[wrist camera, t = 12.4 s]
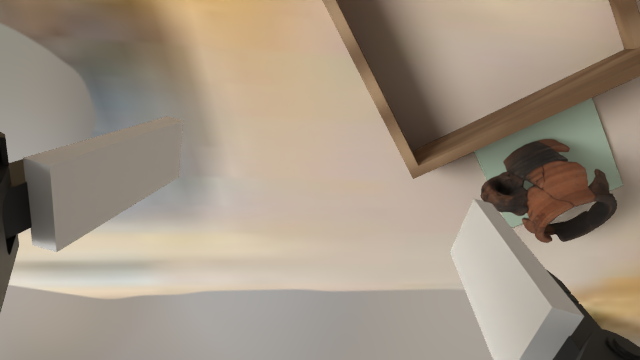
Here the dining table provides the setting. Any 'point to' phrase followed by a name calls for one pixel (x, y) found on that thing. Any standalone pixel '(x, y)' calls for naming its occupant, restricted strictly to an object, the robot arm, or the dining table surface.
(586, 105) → the mat
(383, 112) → the crate
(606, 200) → the brown hollow vessel
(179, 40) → the dining table surface
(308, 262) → the dining table surface
